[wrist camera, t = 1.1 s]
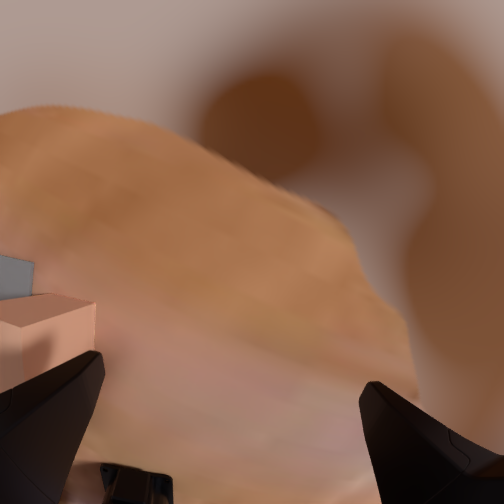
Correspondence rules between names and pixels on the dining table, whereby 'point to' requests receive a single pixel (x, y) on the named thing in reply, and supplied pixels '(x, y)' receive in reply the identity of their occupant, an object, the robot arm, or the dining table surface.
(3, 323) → the terracotta block
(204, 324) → the dining table surface
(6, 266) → the mat
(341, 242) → the dining table surface
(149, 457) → the dining table surface
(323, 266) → the dining table surface
